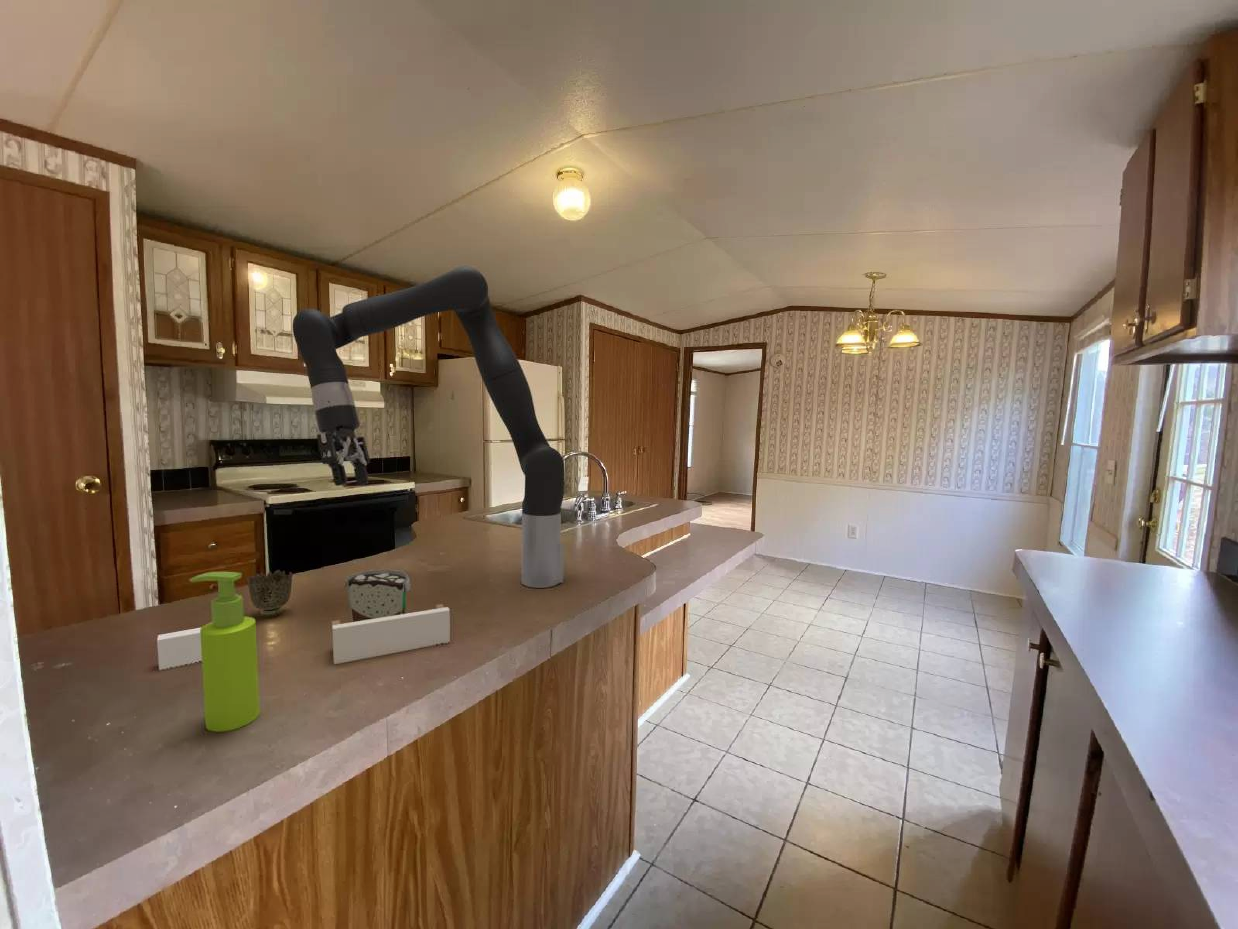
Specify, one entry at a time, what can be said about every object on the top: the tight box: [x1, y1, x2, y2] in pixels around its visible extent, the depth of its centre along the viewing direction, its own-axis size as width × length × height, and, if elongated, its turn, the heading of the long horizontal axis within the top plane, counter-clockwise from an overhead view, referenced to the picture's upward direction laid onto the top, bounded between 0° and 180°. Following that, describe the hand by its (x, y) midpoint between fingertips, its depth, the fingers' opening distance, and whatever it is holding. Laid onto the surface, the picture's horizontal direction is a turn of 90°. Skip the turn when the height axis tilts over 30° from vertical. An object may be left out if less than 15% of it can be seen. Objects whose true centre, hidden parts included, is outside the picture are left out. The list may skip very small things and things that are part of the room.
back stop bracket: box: [331, 603, 451, 665], centre depth 94 cm, size 18×6×6 cm, turn 120°
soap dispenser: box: [188, 571, 261, 733], centre depth 71 cm, size 6×7×20 cm
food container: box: [343, 568, 412, 622], centre depth 103 cm, size 12×6×10 cm, turn 84°
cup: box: [246, 569, 293, 618], centre depth 105 cm, size 8×7×8 cm
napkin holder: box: [156, 626, 203, 671], centre depth 87 cm, size 15×11×6 cm
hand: (353, 484), depth 110 cm, fingers open, 8 cm apart
